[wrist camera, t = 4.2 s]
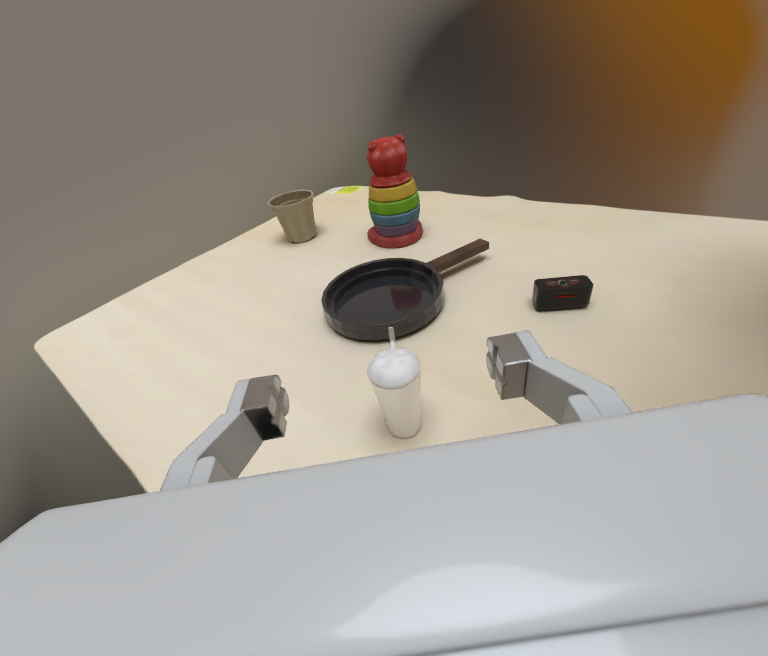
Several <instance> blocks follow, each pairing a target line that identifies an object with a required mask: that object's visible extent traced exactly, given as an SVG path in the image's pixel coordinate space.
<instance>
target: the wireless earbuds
mask: <svg viewBox="0 0 768 656" xmlns="http://www.w3.org/2000/svg"><path fill="white" fill-rule="evenodd" d="M592 289H593V283H592V282H591V280H590V279H589V278H588V277H587V276H584V275H580V276H569V277H558V278H547V279H537V280H535V282H534V289H533V298H532V299H533V303H534V305H535V307H536V309H537V310H554V309H567V308H580V307H586V306H587V305H588V304H589V301H590V297H591V293H592Z"/></svg>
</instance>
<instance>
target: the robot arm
mask: <svg viewBox="0 0 768 656" xmlns="http://www.w3.org/2000/svg"><path fill="white" fill-rule="evenodd" d="M487 347H488V350H489V352H488V353H487V354H486V361H487V368H488V371H489V374H490V376H491V378H492V379H494V380H495V387H496V389H497V392H498V394H499V396H500V398H501V400H504V399H511V398H518V397H524V398H525V399H527V400H528V401H529V402H531V403H532V404H533V405H535V406H536V407H537V408H539V409H540V410H541V411H543V412H544V413H545V414H547V415H548V416H549V417H551V418H552V419H553V420H555V421H556V422H557V423H559V424H560V425H555V426H549V427H543V428H537V429H531V430H525V431H519V432H513V433H507V434H501V435H495V436H489V437H483V438H477V439H471V440H465V441H459V442H453V443H447V444H441V445H435V446H429V447H423V448H417V449H411V450H405V451H399V452H393V453H387V454H381V455H375V456H369V457H363V458H357V459H351V460H345V461H339V462H333V463H327V464H321V465H315V466H309V467H303V468H297V469H291V470H285V471H279V472H273V473H267V474H261V475H255V476H249V477H243V478H237V477H238V476H239V475H240V473H241V472H242V471H243V469H244V468H245V466H246V465H247V464H248V462H249V461H250V459H251V458H252V457H253V455H254V454H255V452H256V451H257V450H258V448H259V447H260V445H261V444H262V443H263V441H264V440H269V439H274V438H279V437H284V436H285V430H286V424H287V421H286V420H285V418H284V417H285V416H286V415H287V414H288V412H289V398H288V394H287V392H286V390H285V389H284V388H282V387H280V386H281V380H280V378H279V376H278V375H271V376H264V377H257V378H251V379H246V380H239V381H238V382H237V383H236V385H235V387H234V390H233V393H232V396H231V399H230V402H229V405H228V408H227V411H226V414H222V415H221V416H220V417H219V418H218V419H216V420H215V421H214V422H213V423H212V424H211V425H210V426H209V427H208V428H207V429H206V430H205V431H204V432H203V433H202V434H201V435H200V436H199V437H198V438H197V439H196V440H195V441H194V442H192V443H191V444H190V445H189V446H188V447H187V448H186V449H185V450H184V451H183V452H182V453H181V454H180V455H179V456H178V457H177V458H176V459H175V460H174V461H173V462H172V464H171V466H170V469H169V471H168V473H167V476H166V478H165V480H164V482H163V485H162V487H161V489H160V491H159V492H153V493H147V494H141V495H135V496H129V497H123V498H118V499H111V500H105V501H99V502H93V503H87V504H80V505H74V506H67V507H60V508H56V509H51V510H48V511H45V512H43V513H41V514H39V515H38V516H36V517H35V518H33V519H32V520H30V521H29V522H28V523H26V524H25V525H24V526H22V527H21V528H19V529H18V530H17V531H16V532H14V533H13V534H12V535H10V536H9V537H8V538H7V539H5V540H4V541H3V542H2V543H0V656H768V396H765V395H762V394H742V395H734V396H729V397H723V398H717V399H712V400H705V401H699V402H693V403H687V404H681V405H675V406H669V407H663V408H657V409H651V410H645V411H639V412H632V411H631V409H630V408H629V407H628V406H627V404H626V403H625V402H624V401H623V399H622V398H621V397H620V396H619V394H618V393H617V392H616V391H615V390H614V388H613V387H611V386H609V385H606V384H604V383H602V382H600V381H598V380H596V379H594V378H592V377H590V376H588V375H586V374H584V373H582V372H580V371H578V370H576V369H574V368H572V367H570V366H568V365H566V364H564V363H562V362H559V361H557V360H555V359H553V358H547V356H546V355H545V353H544V352H543V351H542V349H541V348H540V346H539V345H538V343H537V342H536V340H535V339H534V337H533V336H532V334H531V333H530V331H528V330H525V331H520V332H515V333H511V334H505V335H500V336H494V337H489V338H488V339H487Z"/></svg>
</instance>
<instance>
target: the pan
mask: <svg viewBox="0 0 768 656" xmlns="http://www.w3.org/2000/svg"><path fill="white" fill-rule="evenodd" d="M424 266H426V267H427V268H429V269H430V274H431V275H429V274H428V273H426V272H424ZM443 300H444V290H443V281H442V278H441V275H440V274H439V272H438V271H437V270H436V269H435V268H433V267H431V266H429V265H428V264H426V263H424V262H421V261H418V260H414V259H406V258H387V259H380V260H374V261H370V262H366V263H363V264H360V265H357V266H355V267H353V268H350V269H348V270H346V271H345V272H343V273H341V274H340V275H338V276H337V277H336V278H335V279H333V280H332V281H331V282H330V283H329V284H328V286H327V287H326V289H325V290H324V292H323V296H322V305H323V309H324V312H325V315H326V318H327V321H328V323H329V324H330V325H331V326H332V328H333V329H334V330H335V331H337V332H339V333H341V334H343V335H344V336H347V337H351V338H355V339H360V340H383V339H390V338H389V331H388V328H389V327H393V329H394V336H395V337H398V336H402V335H405V334H408V333H411V332H413V331H415V330H417V329H419V328H421V327H423V326H425V325H426V324H427V323H428V322H429V321H431V320H432V319H433V318H434V317H435V316H436V315H437V314H438V312H439V310H440V309H441V307H442V304H443Z"/></svg>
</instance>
